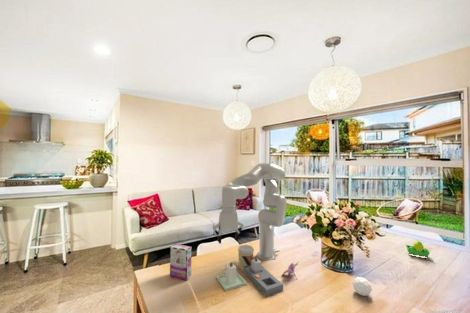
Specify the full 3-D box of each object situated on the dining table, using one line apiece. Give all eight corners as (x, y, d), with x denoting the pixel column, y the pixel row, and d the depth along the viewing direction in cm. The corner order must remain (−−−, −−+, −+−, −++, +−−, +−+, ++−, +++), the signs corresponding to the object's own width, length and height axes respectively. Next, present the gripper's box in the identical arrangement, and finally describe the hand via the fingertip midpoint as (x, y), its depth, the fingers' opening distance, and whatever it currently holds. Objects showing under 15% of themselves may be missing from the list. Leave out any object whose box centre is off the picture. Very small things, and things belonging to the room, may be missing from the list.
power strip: (243, 274, 116) (244, 266, 116) (258, 269, 120) (258, 263, 120) (266, 297, 96) (266, 288, 96) (283, 291, 100) (283, 283, 100)
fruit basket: (427, 256, 140) (427, 239, 140) (430, 261, 133) (430, 244, 133) (405, 252, 146) (405, 236, 147) (408, 256, 139) (407, 240, 139)
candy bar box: (191, 276, 113) (192, 246, 113) (186, 281, 108) (187, 250, 109) (175, 272, 117) (175, 243, 117) (169, 276, 112) (169, 246, 112)
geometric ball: (364, 302, 97) (363, 294, 93) (349, 287, 104) (348, 279, 100) (375, 293, 98) (375, 284, 95) (361, 279, 105) (360, 270, 101)
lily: (301, 275, 117) (293, 257, 121) (309, 277, 106) (301, 258, 110) (283, 283, 115) (275, 266, 118) (290, 287, 104) (281, 267, 107)
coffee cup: (242, 274, 115) (243, 252, 116) (235, 266, 124) (235, 246, 124) (256, 270, 120) (256, 249, 120) (248, 263, 128) (248, 243, 128)
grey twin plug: (257, 272, 116) (257, 255, 116) (261, 276, 112) (261, 258, 113) (251, 274, 114) (251, 257, 114) (254, 278, 111) (255, 260, 111)
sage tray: (236, 273, 116) (236, 270, 116) (246, 285, 105) (246, 282, 105) (216, 279, 110) (216, 275, 110) (225, 292, 99) (225, 288, 100)
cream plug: (232, 278, 110) (233, 260, 110) (236, 282, 107) (236, 263, 107) (226, 280, 108) (226, 262, 109) (229, 284, 105) (229, 265, 105)
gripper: (240, 206, 116) (240, 237, 115) (211, 209, 109) (210, 241, 109) (246, 209, 109) (245, 241, 108) (215, 212, 102) (214, 246, 102)
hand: (228, 241), depth 109 cm, fingers open, 9 cm apart
